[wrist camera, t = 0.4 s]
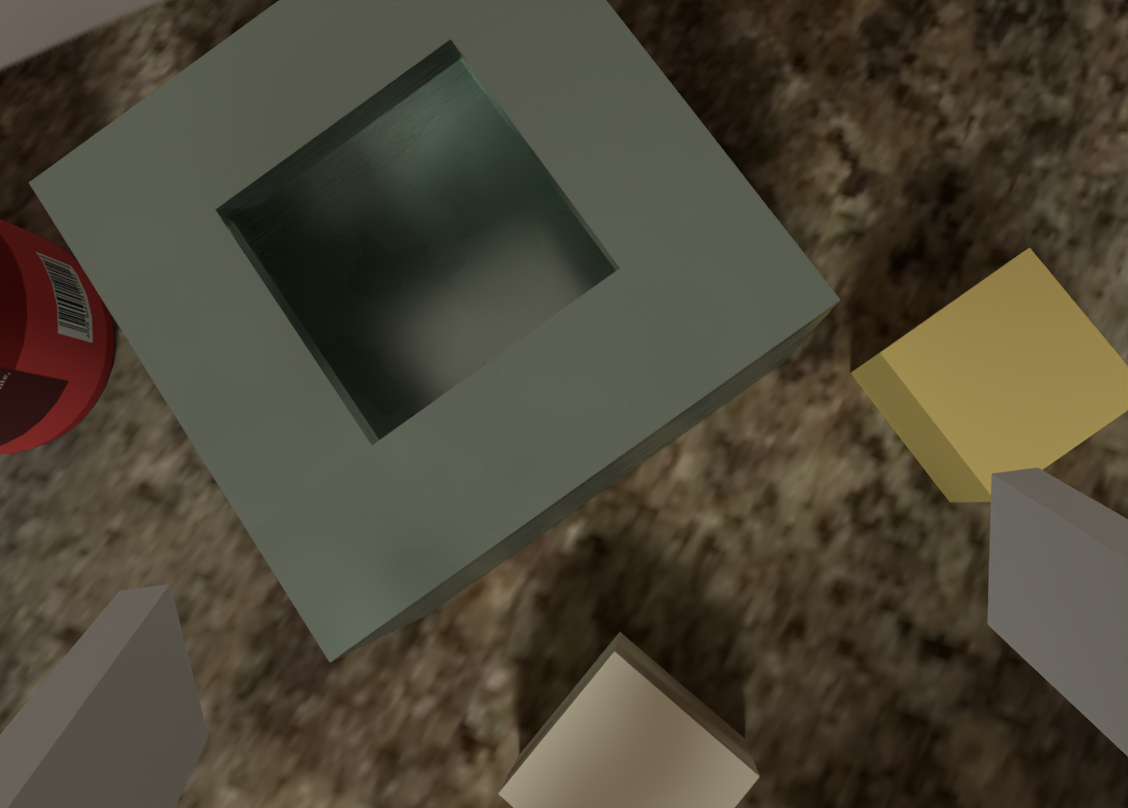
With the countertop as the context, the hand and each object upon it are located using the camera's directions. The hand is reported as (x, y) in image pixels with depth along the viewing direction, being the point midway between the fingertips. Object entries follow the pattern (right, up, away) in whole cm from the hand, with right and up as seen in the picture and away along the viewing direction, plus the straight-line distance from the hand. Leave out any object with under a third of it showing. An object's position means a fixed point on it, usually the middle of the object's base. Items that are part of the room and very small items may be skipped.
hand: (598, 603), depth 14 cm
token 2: (+12, +4, +14) cm, 19 cm away
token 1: (+2, -7, +14) cm, 16 cm away
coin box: (-3, +6, +16) cm, 17 cm away
